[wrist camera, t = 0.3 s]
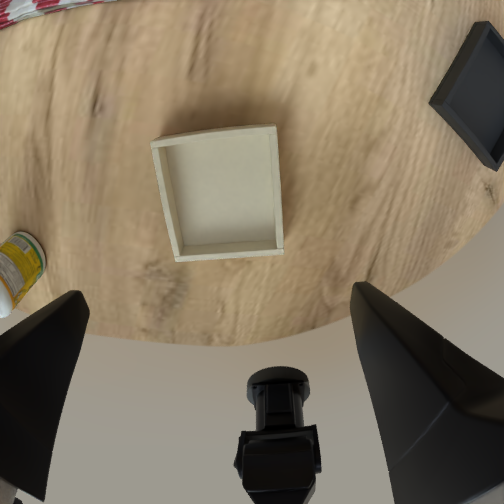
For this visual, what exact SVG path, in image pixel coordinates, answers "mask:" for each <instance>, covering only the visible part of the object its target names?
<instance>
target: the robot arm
mask: <svg viewBox="0 0 504 504" xmlns="http://www.w3.org/2000/svg"><path fill="white" fill-rule="evenodd" d="M350 312H351V317H352V323H353V328H354V333H355V339H356V345H357V350H358V354H359V358H360V361H361V365H362V368H363V372H364V375H365V379H366V382H367V386H368V389H369V392H370V396H371V400H372V404H373V408H374V412H375V416H376V420H377V423H378V428H379V431H380V436H381V440H382V444H383V448H384V453H385V457H386V462H387V466H388V471H390V472H389V477H390V482H391V486H392V492H393V497H394V502H395V504H504V378H503V377H501V376H500V375H498V374H497V373H495V372H493V371H492V370H490V369H489V368H487V367H486V366H484V365H483V364H481V363H480V362H478V361H477V360H475V359H473V358H472V357H471V356H469V355H468V354H466V353H465V352H463V351H462V350H461V349H459V348H458V347H456V346H455V345H454V344H452V343H451V342H450V341H448V340H447V339H444V337H443V336H442V335H440V334H439V333H438V332H436V331H435V330H434V329H432V328H431V327H429V326H428V325H427V324H425V323H424V322H423V321H421V320H420V319H419V318H417V317H416V316H415V315H413V314H412V313H410V312H409V311H408V310H406V309H405V308H404V307H402V306H401V305H399V304H398V303H397V302H395V301H394V300H392V299H391V298H390V297H388V296H387V295H385V294H384V293H383V292H381V291H380V290H378V289H377V288H376V287H374V286H373V285H371V284H370V283H368V282H366V281H364V282H355V283H354V284H353V288H352V294H351V300H350ZM89 315H90V311H89V307H88V305H87V303H86V301H85V298H84V296H83V294H82V292H81V291H79V290H71V291H68V292H67V293H65V294H64V295H62V296H60V297H59V298H57V299H55V300H54V301H52V302H51V303H49V304H48V305H46V306H44V307H43V308H41V309H40V310H38V311H36V312H35V313H33V314H32V315H30V316H29V317H27V318H26V319H24V320H23V321H21V322H20V323H18V324H17V325H15V326H14V327H12V328H11V329H9V330H8V331H6V332H5V333H3V334H2V335H0V504H23V503H22V501H21V500H19V499H18V498H16V497H15V496H16V493H17V489H20V490H21V491H23V492H25V493H27V494H28V495H30V496H32V497H34V498H36V499H38V500H40V501H42V502H44V500H45V494H46V487H47V480H48V474H49V468H50V463H51V457H52V451H53V447H54V442H55V438H56V433H57V429H58V425H59V420H60V417H61V413H62V409H63V406H64V402H65V398H66V395H67V391H68V388H69V385H70V381H71V378H72V375H73V372H74V369H75V366H76V362H77V360H78V357H79V353H80V350H81V346H82V342H83V338H84V334H85V330H86V326H87V323H88V319H89ZM251 390H252V396H253V402H254V407H255V410H256V431H241V436H240V437H239V444H238V451H237V454H236V458H235V460H234V467H235V468H236V469H237V470H238V474H239V477H240V479H242V485H243V487H244V489H245V490H246V492H247V493H248V495H249V496H250V498H251V499H252V501H253V502H254V503H255V504H308V502H309V500H310V499H311V497H312V495H313V494H314V492H315V484H316V476H315V474H317V473H321V456H320V447H319V442H318V434H317V428H316V424H315V425H311V426H305V427H304V420H303V411H302V407H303V403H304V392H305V381H304V380H293V381H279V382H261V383H252V384H251Z"/></svg>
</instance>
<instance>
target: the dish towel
mask: <svg viewBox="0 0 504 504" xmlns="http://www.w3.org/2000/svg"><path fill="white" fill-rule="evenodd" d="M108 1H115V0H0V29H3V28H5V27H8V26H10V25H13V24H15V23H17V22H19V21H21V20H24V19H27V18H31V17H35V16H40V15H45V14H49V13H53V12H57V11H61V10H65V9H69V8H73V7H78V6H84V5H91V4H97V3H102V2H108Z"/></svg>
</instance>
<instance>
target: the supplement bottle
mask: <svg viewBox="0 0 504 504" xmlns="http://www.w3.org/2000/svg"><path fill="white" fill-rule="evenodd" d="M45 266H46V261H45V255H44V252H43V250H42V248H41V246H40V245H39V243H38V242H37V241H36V240H35V239H34V238H33V237H32V236H31V235H29V234H28V233H25V232H16V233H14V234H13V235H11V236H10V237H9V238H8V239H7V240H5V241H4V242H3V243H2V244H1V245H0V318H4V317H7V316H8V315H9V314H10V313H11V312H12V310H13V309H14V308H15V307H16V306H17V304H18V303H19V302H20V301H21V299H22V298H23V297H24V296H25V294H26V293H27V292H28V291H29V290H30V288H31V287H32V286H33V285H34V284H35V283H36V281H37V280H38V279H39V278H40V277H41V275H42V274H43V272H44V270H45Z"/></svg>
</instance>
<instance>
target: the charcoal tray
mask: <svg viewBox="0 0 504 504" xmlns="http://www.w3.org/2000/svg"><path fill="white" fill-rule="evenodd" d="M429 105H430V106H432V107H433V108H434V109H435V110H436V111H437V112H438V113H439V114H440V115H441V117H442V118H443V119H444V120H445V121H446V122H447V123H448V124H449V125H450V126H451V127H452V128H453V129H454V130H455V131H456V132H457V134H458V135H459V136H460V137H461V138H462V139H463V140H464V142H465V143H466V144H467V145H468V146H469V147H470V149H471V150H472V151H473V152H474V153H475V155H476V156H477V157H478V158H479V160H480V161H481V162H482V163H483V165H484V166H487V167H488V168H490V169H492V170H494V171H496V172H497V171H498V169H499V167H500V166H501V164H502V162H503V161H504V39H503V38H502V37H501V35H500V34H499V33H498V32H497V30H496V29H495V28H494V27H493V26H492V24H491V23H490V22H489V21H482V22H475V23H474V25H473V27H472V29H471V31H470V33H469V35H468V36H467V38H466V40H465V42H464V44H463V46H462V47H461V49H460V51H459V53H458V54H457V56H456V58H455V60H454V61H453V63H452V65H451V67H450V68H449V70H448V72H447V73H446V75H445V77H444V79H443V80H442V82H441V84H440V85H439V87H438V89H437V90H436V92H435V93H434V95H433V97H432V98H431V100H430V102H429Z"/></svg>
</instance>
